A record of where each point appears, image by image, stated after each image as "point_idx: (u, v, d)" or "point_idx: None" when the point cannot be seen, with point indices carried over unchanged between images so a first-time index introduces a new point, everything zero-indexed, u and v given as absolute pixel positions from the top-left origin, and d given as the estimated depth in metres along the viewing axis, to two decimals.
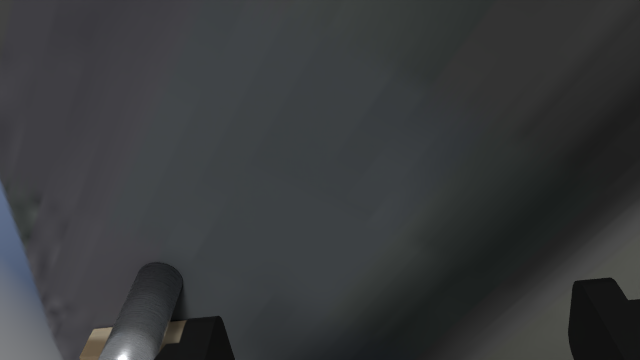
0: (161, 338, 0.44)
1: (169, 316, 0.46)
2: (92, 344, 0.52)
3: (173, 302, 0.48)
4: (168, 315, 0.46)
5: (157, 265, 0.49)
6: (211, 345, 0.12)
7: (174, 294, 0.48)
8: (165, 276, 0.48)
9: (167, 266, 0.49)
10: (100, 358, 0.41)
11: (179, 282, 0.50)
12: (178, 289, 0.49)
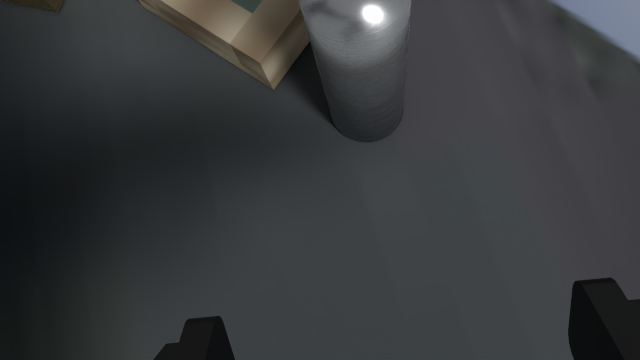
0: (330, 82, 0.24)
1: (334, 103, 0.27)
2: None
3: (339, 116, 0.28)
4: (338, 104, 0.26)
5: (391, 130, 0.30)
6: (211, 345, 0.12)
7: (346, 123, 0.28)
8: (374, 132, 0.29)
9: (378, 138, 0.30)
10: None
11: (346, 132, 0.30)
12: (341, 126, 0.30)
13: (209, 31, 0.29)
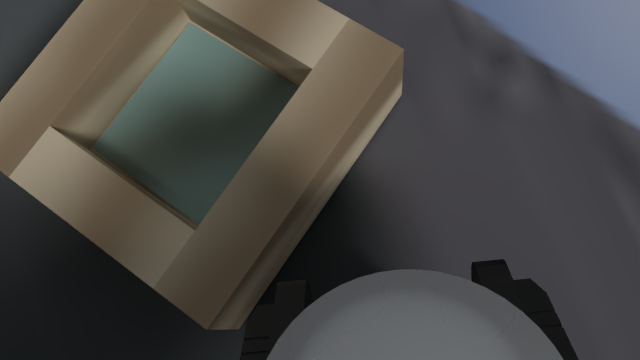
0: None
1: None
2: (391, 86, 0.18)
3: None
4: None
5: None
6: (305, 305, 0.13)
7: None
8: None
9: None
10: None
11: None
12: None
13: (119, 261, 0.17)
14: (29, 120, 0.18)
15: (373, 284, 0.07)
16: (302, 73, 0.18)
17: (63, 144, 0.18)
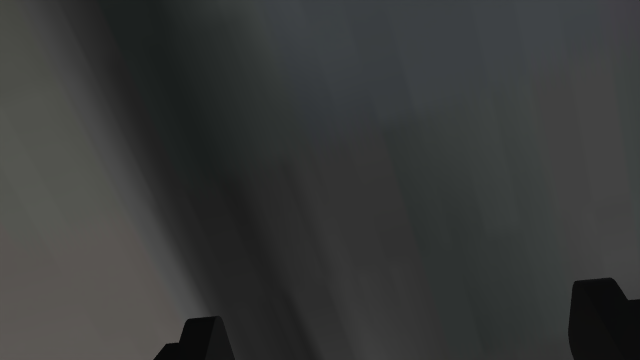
0: None
1: None
2: None
3: None
4: None
5: None
6: (211, 345, 0.12)
7: None
8: None
9: None
10: None
11: None
12: None
13: None
14: None
15: None
16: None
17: None
